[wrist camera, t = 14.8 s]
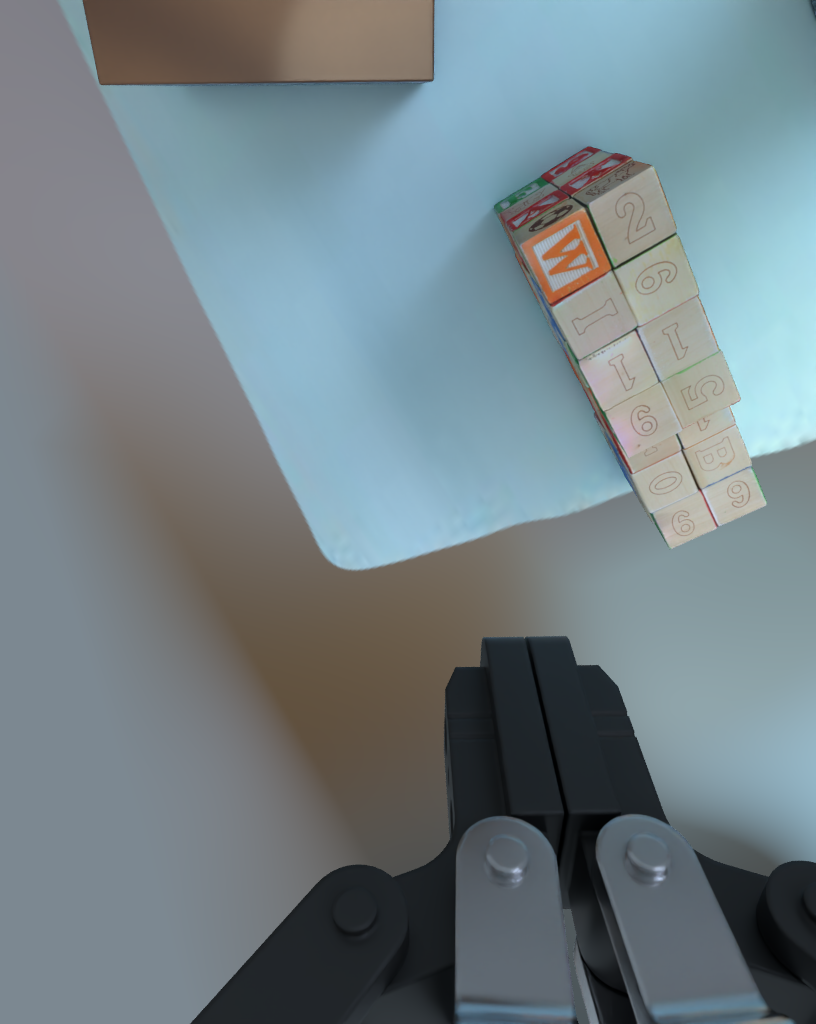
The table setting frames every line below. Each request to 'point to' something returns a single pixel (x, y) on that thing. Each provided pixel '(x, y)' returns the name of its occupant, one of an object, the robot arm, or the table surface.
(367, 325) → the table surface
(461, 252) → the table surface
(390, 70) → the lid
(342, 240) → the table surface
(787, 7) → the table surface
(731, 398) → the stack of blocks
